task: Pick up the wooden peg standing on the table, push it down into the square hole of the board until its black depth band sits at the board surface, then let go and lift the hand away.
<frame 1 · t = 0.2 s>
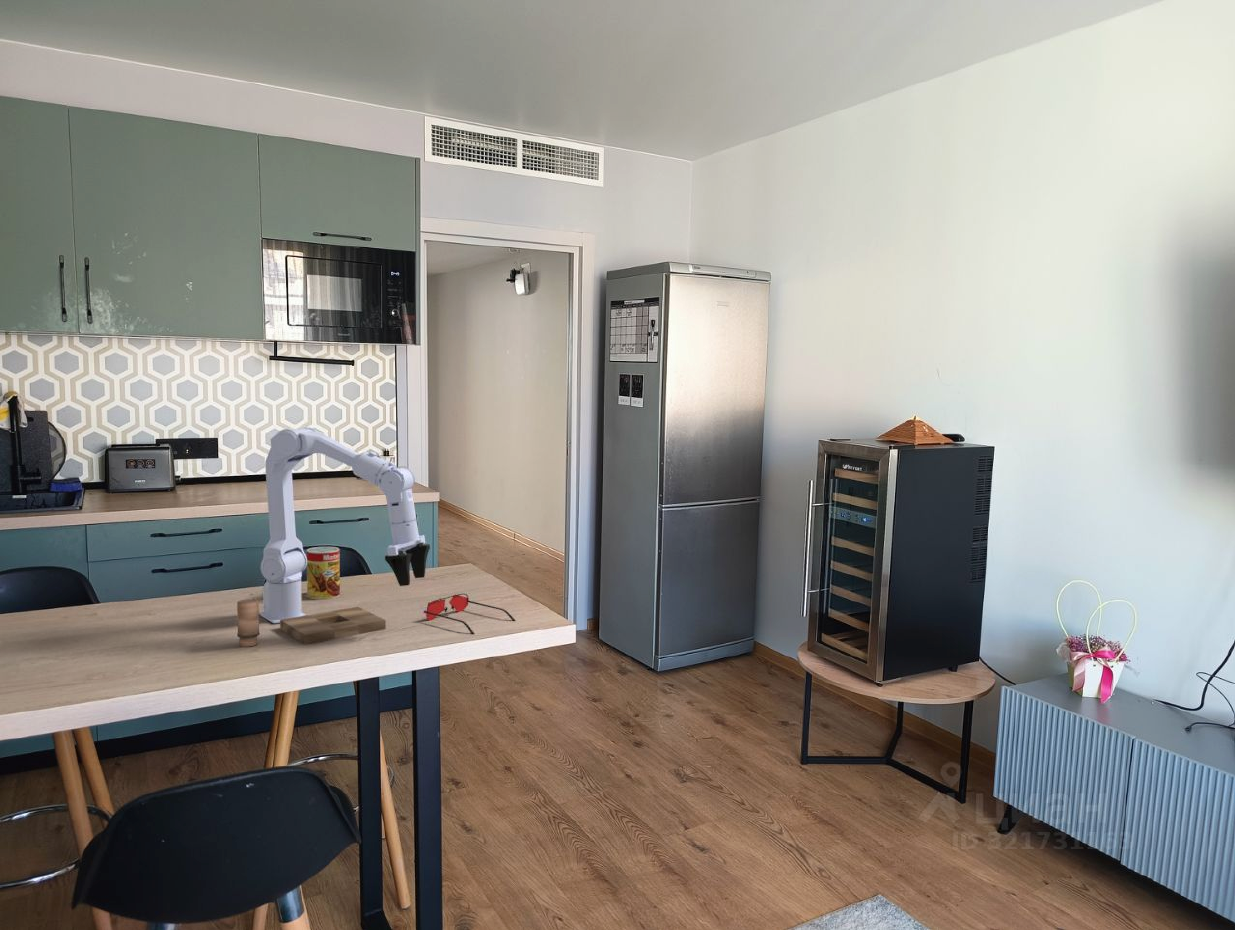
hand: (412, 581, 183), 11 cm above the table, tool pointing down, fingers open, 7 cm apart
glasses: (469, 623, 190), on the table
board: (333, 628, 181), on the table
peg: (248, 644, 169), on the table
canned food: (323, 596, 209), on the table
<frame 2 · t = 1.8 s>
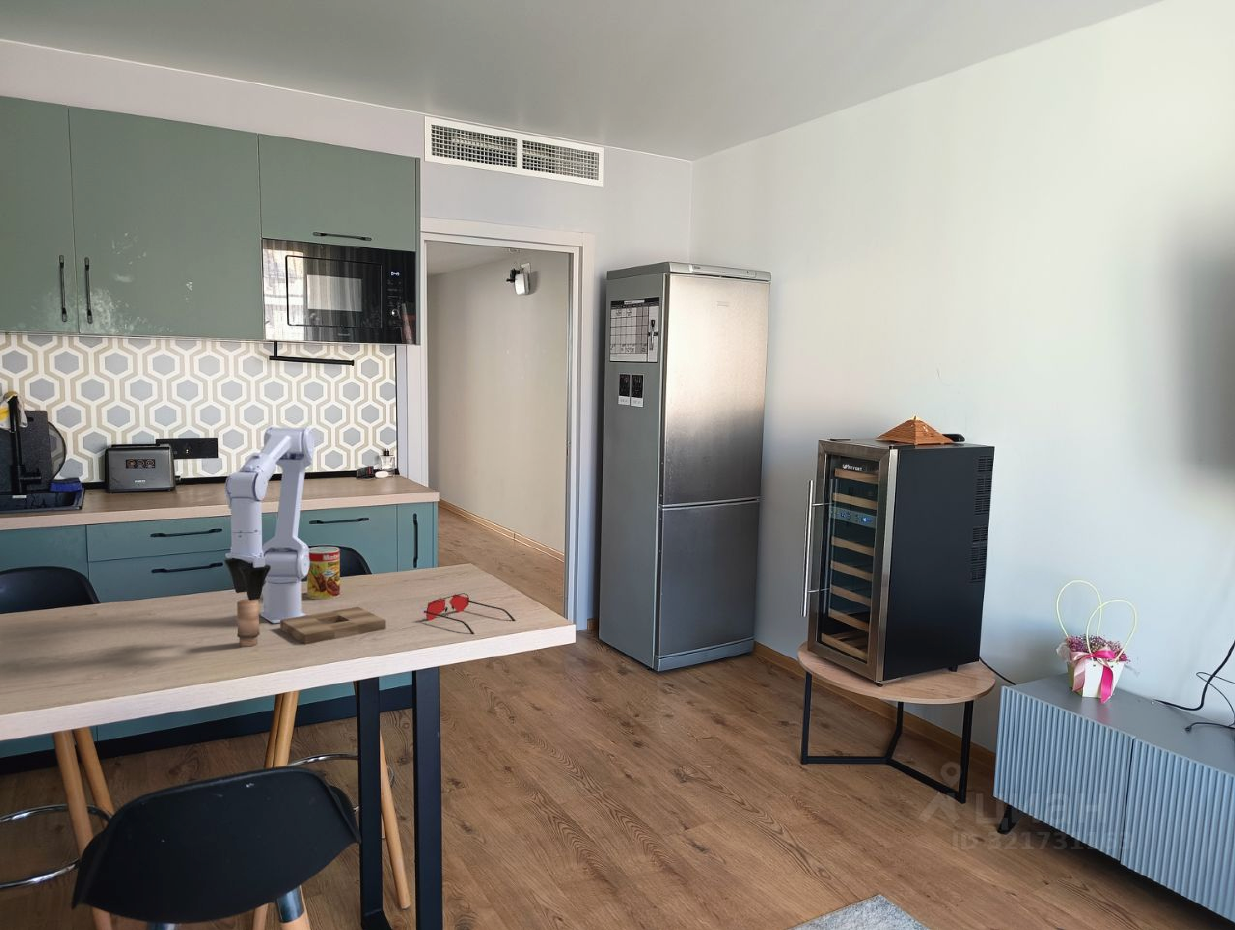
hand: (247, 595, 168), 10 cm above the table, tool pointing down, fingers open, 7 cm apart
nothing on the table moved.
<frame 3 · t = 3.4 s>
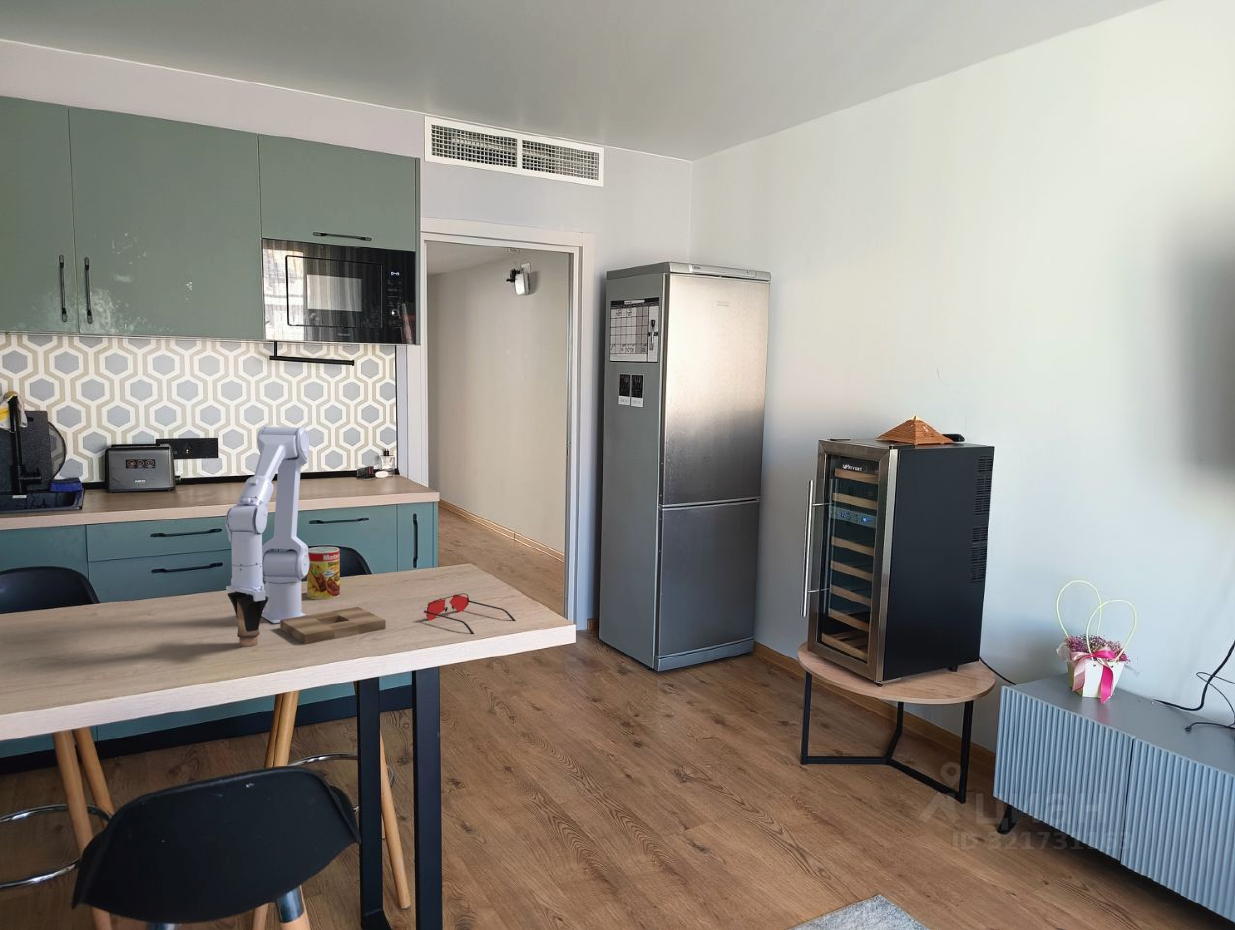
hand: (248, 628, 169), 3 cm above the table, tool pointing down, fingers closed on peg, 4 cm apart
peg: (248, 644, 169), on the table, touching gripper
everything else where it was.
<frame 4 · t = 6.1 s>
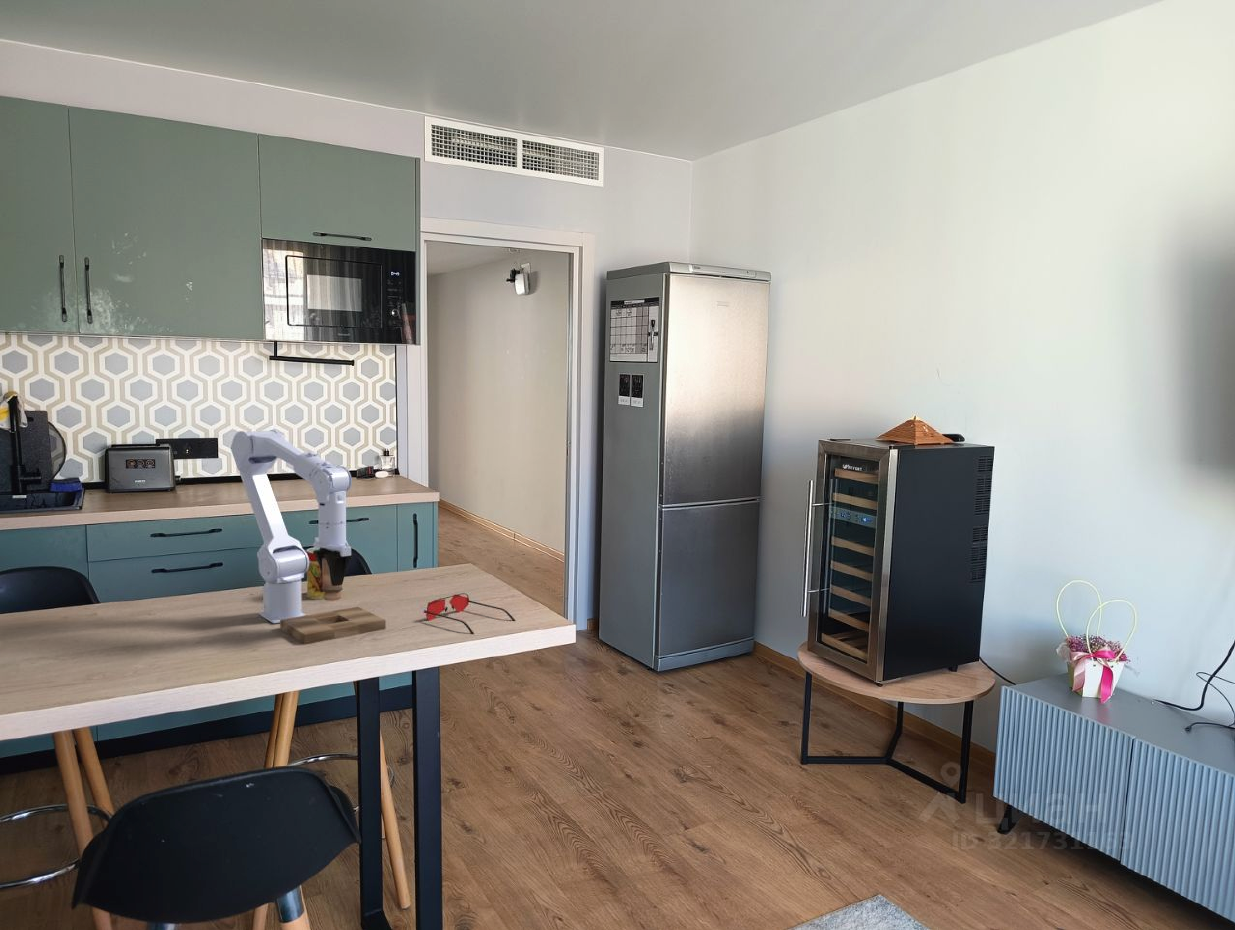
hand: (332, 583, 180), 10 cm above the table, tool pointing down, fingers closed on peg, 4 cm apart
peg: (332, 598, 181), point 7 cm above the table, touching gripper
everything else where it was.
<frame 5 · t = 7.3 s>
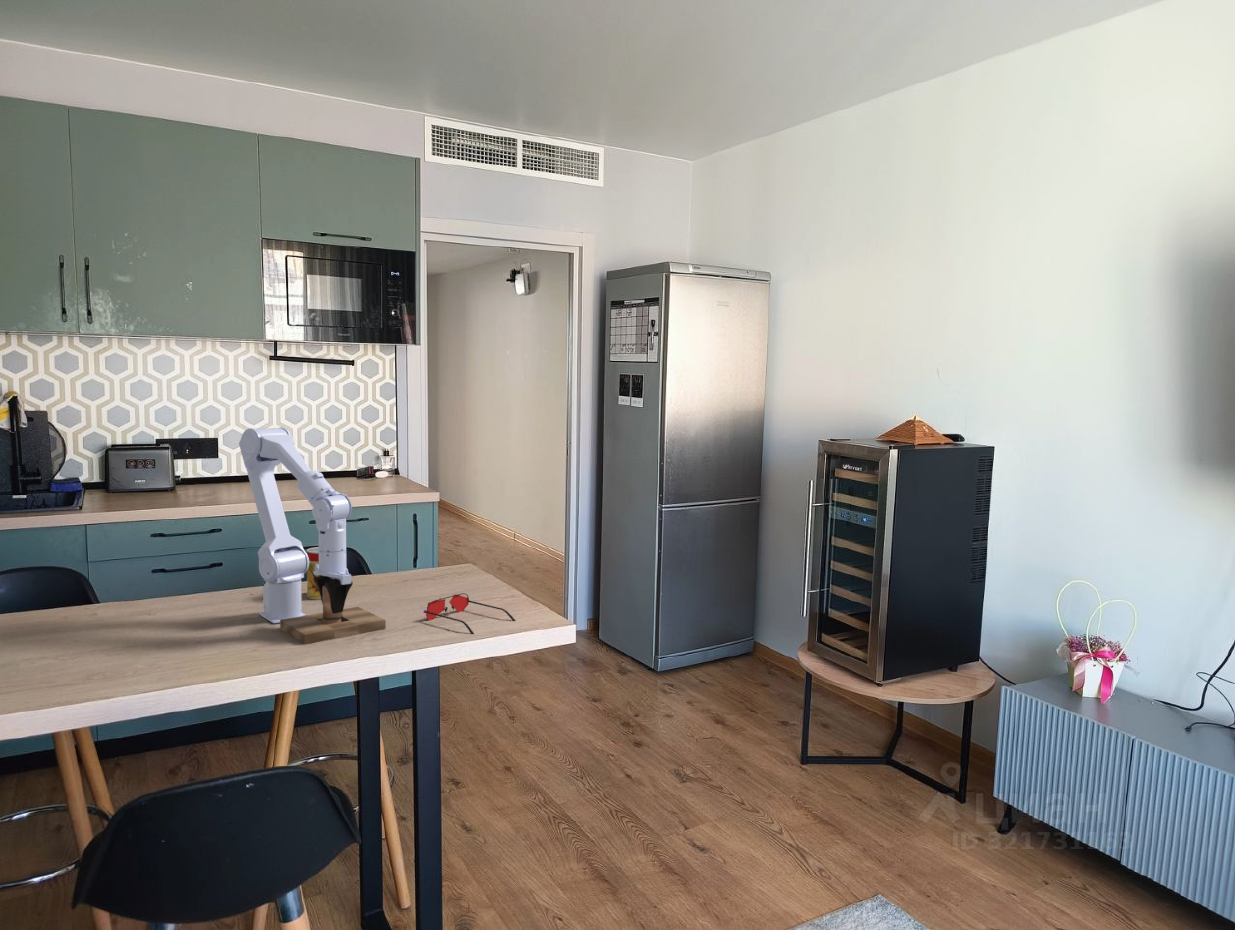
hand: (333, 610, 181), 4 cm above the table, tool pointing down, fingers closed on peg, 4 cm apart
peg: (333, 625, 181), point 1 cm above the table, touching gripper
everything else where it was.
when the fingers open (4 cm above the table, at t = 8.6 s): peg stays where it is, resting in board.
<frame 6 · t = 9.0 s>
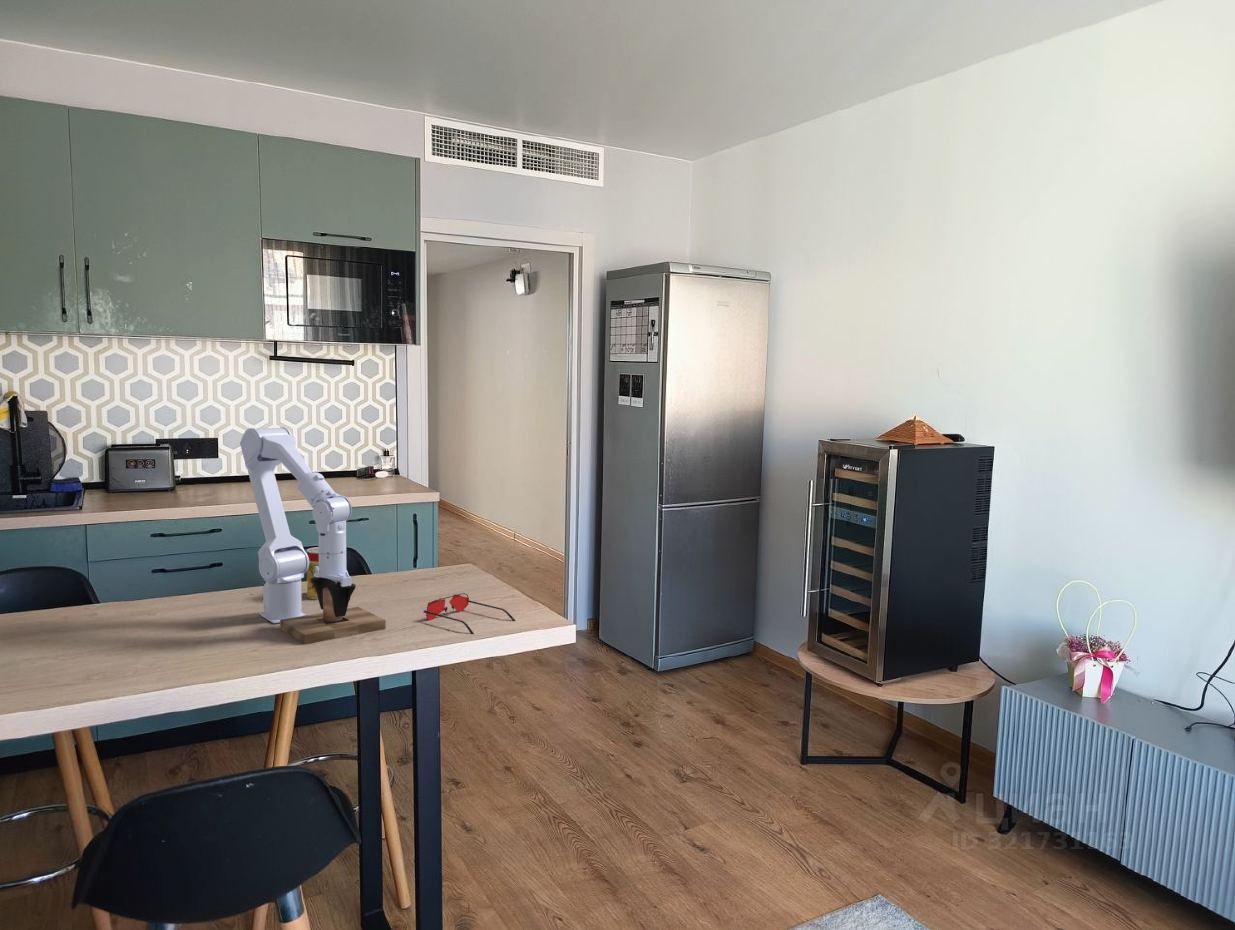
hand: (333, 612, 181), 4 cm above the table, tool pointing down, fingers open, 7 cm apart
peg: (332, 628, 181), resting in board
everything else where it was.
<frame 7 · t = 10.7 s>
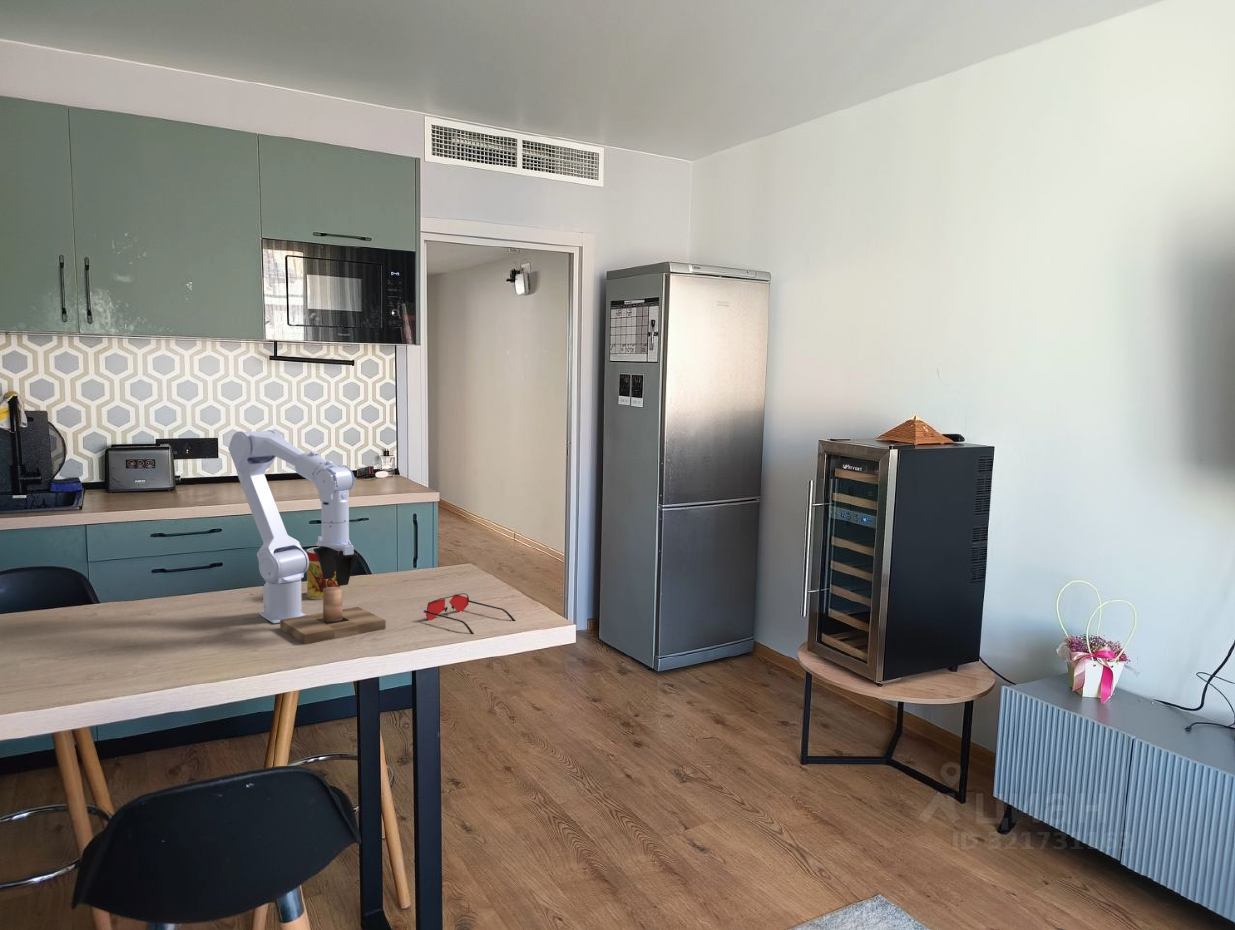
hand: (335, 581, 181), 10 cm above the table, tool pointing down, fingers open, 7 cm apart
nothing on the table moved.
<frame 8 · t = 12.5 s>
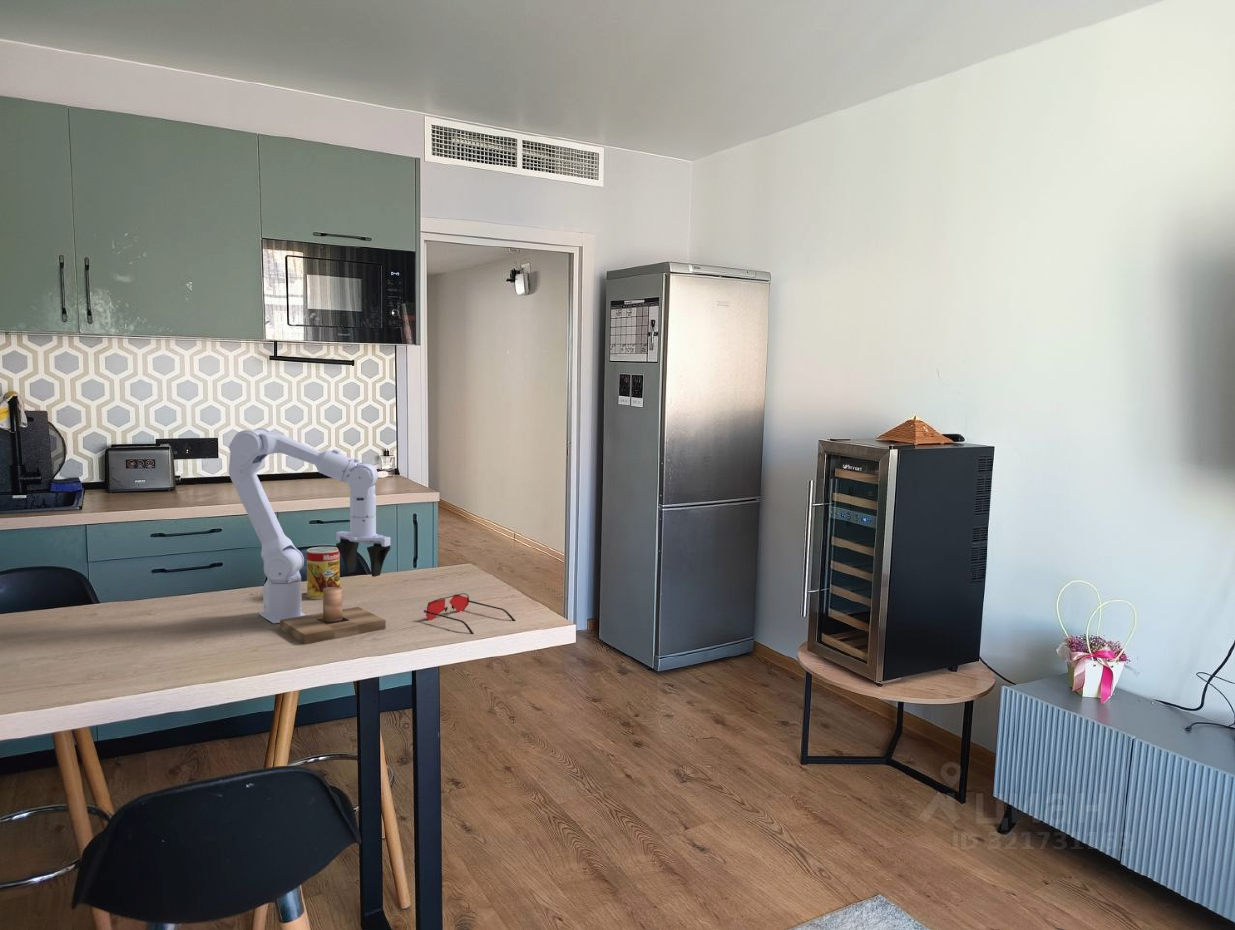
hand: (363, 573, 189), 10 cm above the table, tool pointing down, fingers open, 7 cm apart
nothing on the table moved.
at the end: peg 0.1 cm off-centre on the board, point 0.0 cm above the board's base; peg tilted 0°; the gripper is holding nothing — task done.
